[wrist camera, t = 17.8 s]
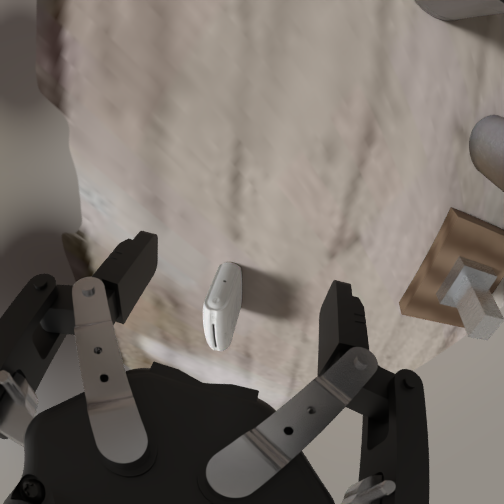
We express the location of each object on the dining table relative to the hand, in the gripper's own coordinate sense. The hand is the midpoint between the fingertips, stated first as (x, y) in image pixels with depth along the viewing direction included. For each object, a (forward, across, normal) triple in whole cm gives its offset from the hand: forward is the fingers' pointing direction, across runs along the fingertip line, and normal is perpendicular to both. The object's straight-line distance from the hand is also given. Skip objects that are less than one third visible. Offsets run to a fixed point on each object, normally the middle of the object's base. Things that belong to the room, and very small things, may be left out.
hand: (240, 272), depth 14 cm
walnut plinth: (+31, -35, +14) cm, 49 cm away
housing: (+28, -35, +14) cm, 47 cm away
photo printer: (+31, +3, +29) cm, 43 cm away
